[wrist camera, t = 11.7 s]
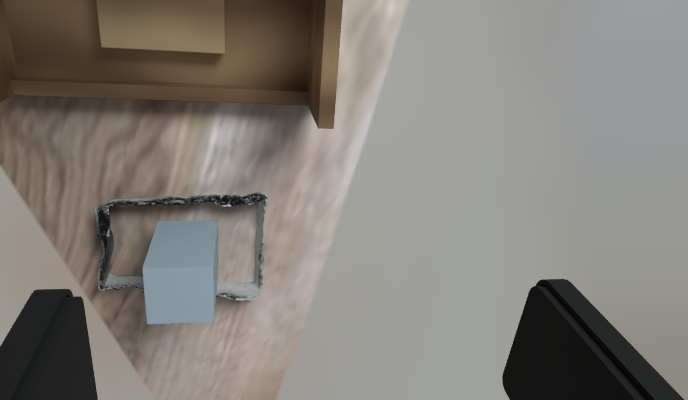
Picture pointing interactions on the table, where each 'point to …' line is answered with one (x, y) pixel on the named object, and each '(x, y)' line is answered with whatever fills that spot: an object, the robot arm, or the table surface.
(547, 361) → the robot arm
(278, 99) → the crate
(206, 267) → the block
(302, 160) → the table surface
